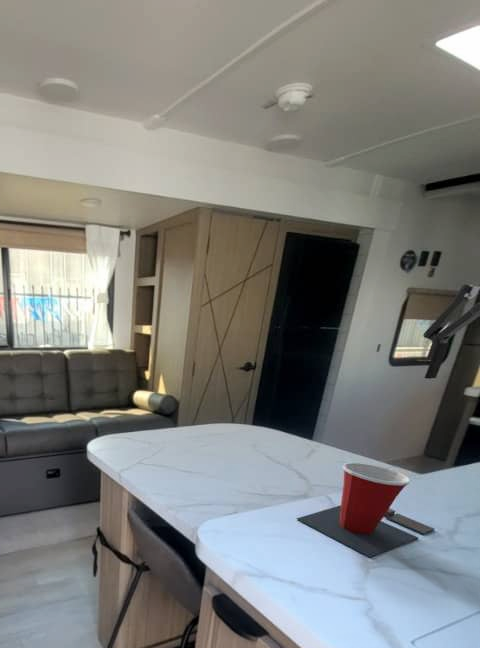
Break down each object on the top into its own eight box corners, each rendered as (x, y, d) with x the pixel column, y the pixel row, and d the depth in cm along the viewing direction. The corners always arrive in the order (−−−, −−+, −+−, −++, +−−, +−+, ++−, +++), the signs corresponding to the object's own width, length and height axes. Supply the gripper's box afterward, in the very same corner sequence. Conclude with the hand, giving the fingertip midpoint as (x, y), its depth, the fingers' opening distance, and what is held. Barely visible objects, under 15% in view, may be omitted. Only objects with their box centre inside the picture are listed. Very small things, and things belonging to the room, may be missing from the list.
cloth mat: (343, 505, 88) (343, 504, 88) (417, 538, 76) (418, 537, 76) (296, 519, 82) (296, 518, 82) (369, 558, 70) (370, 556, 70)
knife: (344, 500, 90) (345, 496, 90) (355, 497, 92) (356, 492, 92) (422, 534, 78) (425, 529, 77) (433, 530, 79) (436, 525, 79)
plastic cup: (399, 531, 78) (423, 474, 73) (373, 548, 72) (396, 487, 67) (342, 509, 86) (360, 456, 81) (314, 522, 80) (331, 466, 75)
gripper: (429, 254, 74) (389, 374, 83) (637, 240, 54) (554, 400, 63) (450, 257, 77) (410, 372, 86) (654, 245, 57) (572, 396, 67)
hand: (470, 384), depth 75 cm, fingers open, 13 cm apart
